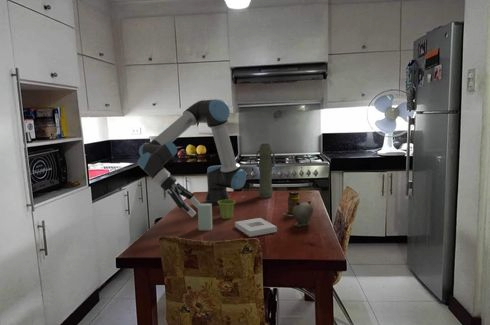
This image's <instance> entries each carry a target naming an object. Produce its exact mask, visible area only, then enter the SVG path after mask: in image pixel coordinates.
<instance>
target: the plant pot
mask: <svg viewBox="0 0 490 325" xmlns="http://www.w3.org/2000/svg"><path fill="white" fill-rule="evenodd" d="M235 203H236V200H232V199H229V200H220V201H218V204H219V205H218V207H219V213H220V218H221V219H224V220H228V219H232V218H233V216H234V208H235Z"/></svg>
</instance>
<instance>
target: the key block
mask: <svg viewBox="0 0 490 325" xmlns="http://www.w3.org/2000/svg"><path fill="white" fill-rule="evenodd" d="M212 206H213V205H212V204H206V203H204V202H201V203H200V202H199V205H198V209H197V223H198V227H197V228H198V229H197V230H198V231H212V229H213V207H212Z"/></svg>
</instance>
